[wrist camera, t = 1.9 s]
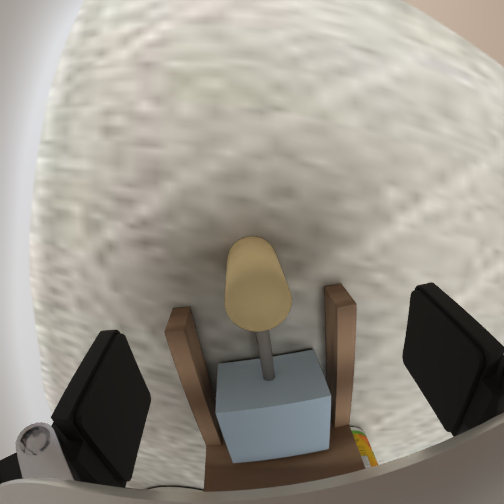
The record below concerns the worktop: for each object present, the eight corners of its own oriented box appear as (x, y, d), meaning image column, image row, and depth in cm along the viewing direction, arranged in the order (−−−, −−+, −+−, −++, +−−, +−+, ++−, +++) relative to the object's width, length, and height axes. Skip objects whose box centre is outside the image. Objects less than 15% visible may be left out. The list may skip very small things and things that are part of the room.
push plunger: (315, 404, 24) (330, 456, 18) (232, 416, 24) (233, 470, 18) (305, 228, 19) (333, 260, 13) (191, 245, 19) (174, 283, 13)
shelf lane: (339, 409, 24) (379, 521, 13) (211, 428, 24) (206, 547, 13) (341, 283, 20) (430, 409, 9) (172, 308, 20) (125, 454, 9)
